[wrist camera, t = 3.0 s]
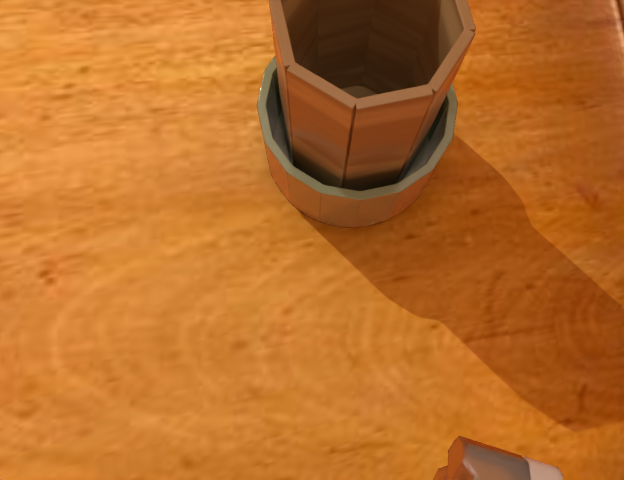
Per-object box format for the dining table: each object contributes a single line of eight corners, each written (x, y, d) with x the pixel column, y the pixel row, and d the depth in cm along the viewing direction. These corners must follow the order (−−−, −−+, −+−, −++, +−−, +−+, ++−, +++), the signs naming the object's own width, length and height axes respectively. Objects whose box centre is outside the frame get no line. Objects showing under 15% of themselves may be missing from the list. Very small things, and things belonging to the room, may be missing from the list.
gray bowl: (463, 124, 31) (492, 76, 26) (377, 260, 29) (390, 236, 24) (325, 43, 32) (327, -17, 27) (234, 170, 30) (219, 130, 25)
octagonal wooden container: (437, 125, 30) (505, -12, 20) (371, 227, 29) (405, 140, 18) (331, 64, 31) (341, -100, 20) (263, 161, 30) (235, 40, 19)
